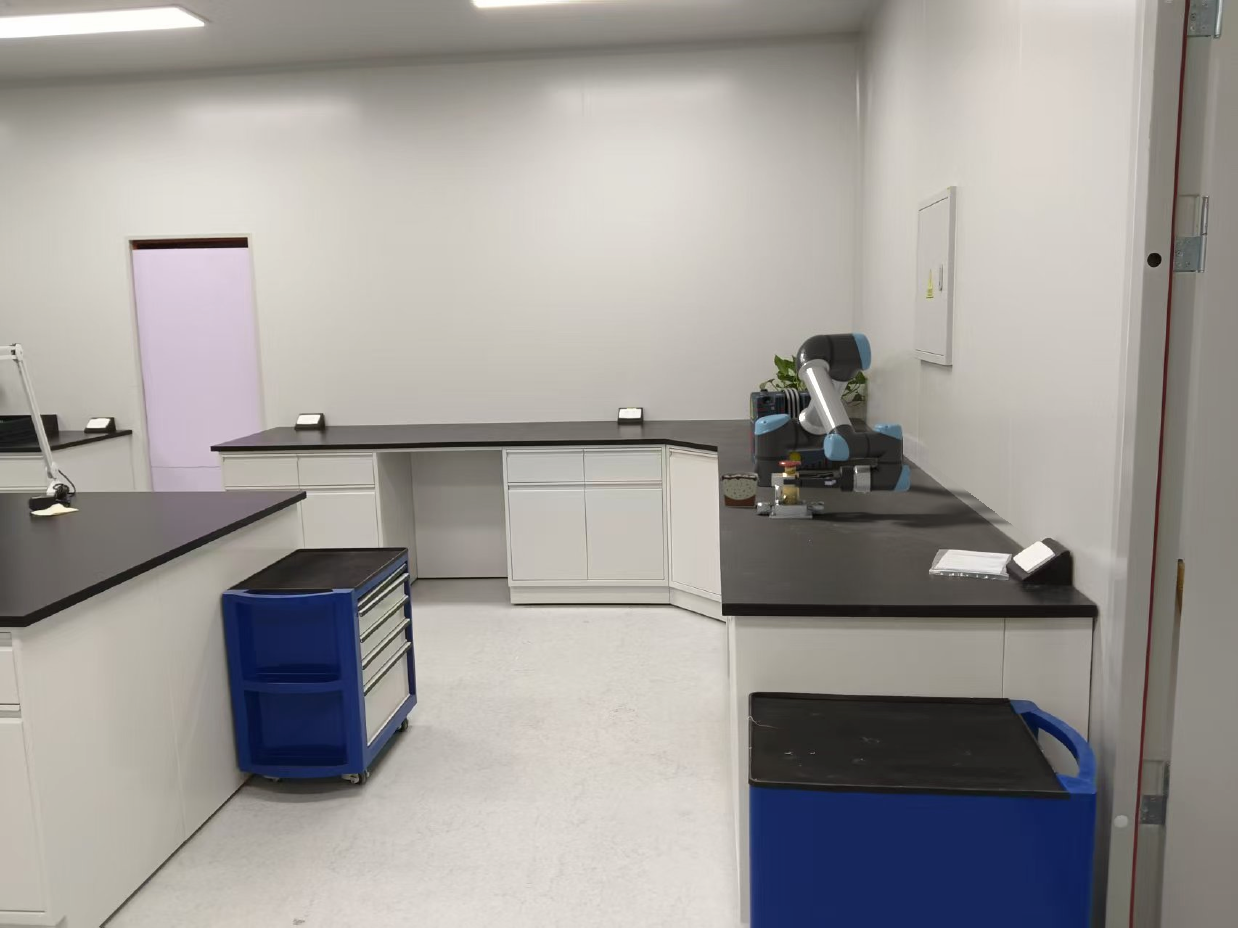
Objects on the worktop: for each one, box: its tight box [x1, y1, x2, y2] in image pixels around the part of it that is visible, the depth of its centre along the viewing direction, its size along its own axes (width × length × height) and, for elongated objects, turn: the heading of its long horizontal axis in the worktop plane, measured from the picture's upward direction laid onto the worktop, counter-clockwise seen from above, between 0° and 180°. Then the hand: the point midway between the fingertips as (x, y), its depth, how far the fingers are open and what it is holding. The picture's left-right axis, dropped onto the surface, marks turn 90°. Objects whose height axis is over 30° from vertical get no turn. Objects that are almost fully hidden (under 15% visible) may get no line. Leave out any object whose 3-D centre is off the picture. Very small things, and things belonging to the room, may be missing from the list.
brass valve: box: [780, 461, 801, 505], centre depth 283 cm, size 6×6×12 cm
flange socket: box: [756, 499, 825, 520], centre depth 284 cm, size 12×19×4 cm, turn 80°
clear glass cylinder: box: [774, 486, 782, 501], centre depth 297 cm, size 4×4×9 cm
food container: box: [719, 471, 760, 508], centre depth 300 cm, size 12×6×10 cm, turn 74°
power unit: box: [749, 387, 833, 470], centre depth 375 cm, size 28×28×30 cm
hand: (772, 479), depth 284 cm, fingers closed on brass valve, 5 cm apart
